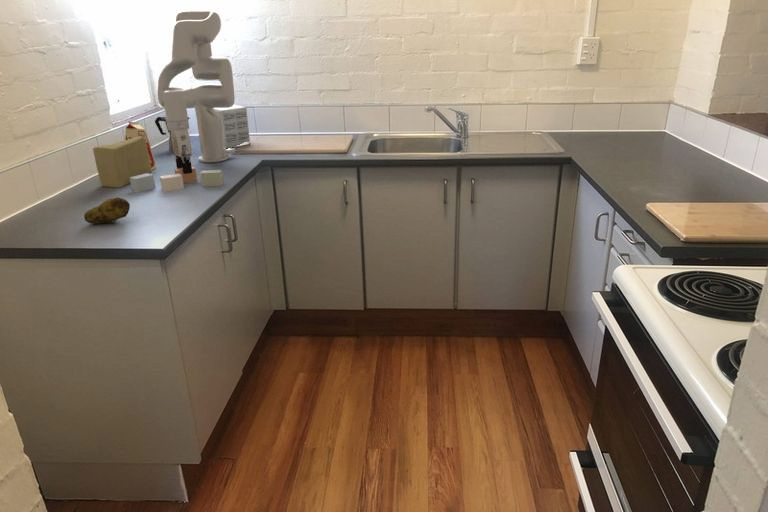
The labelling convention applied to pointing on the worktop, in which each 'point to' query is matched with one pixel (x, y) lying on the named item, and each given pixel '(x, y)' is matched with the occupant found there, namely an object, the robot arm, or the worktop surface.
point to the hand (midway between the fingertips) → (184, 170)
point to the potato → (108, 211)
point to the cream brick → (171, 182)
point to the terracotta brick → (187, 175)
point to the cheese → (122, 161)
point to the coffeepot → (163, 132)
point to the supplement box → (233, 125)
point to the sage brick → (211, 178)
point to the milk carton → (139, 131)
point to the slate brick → (142, 182)
